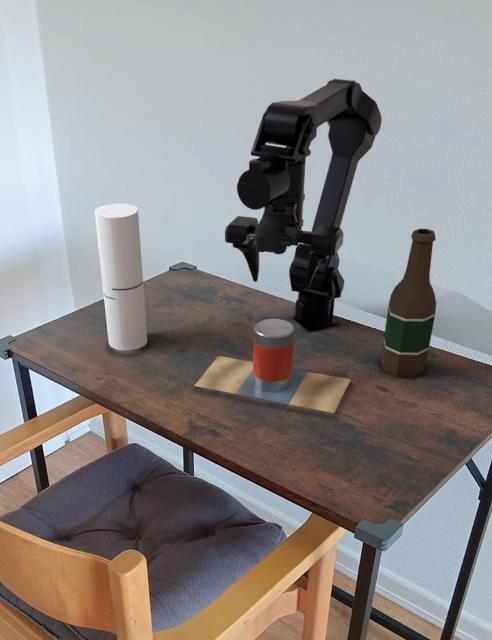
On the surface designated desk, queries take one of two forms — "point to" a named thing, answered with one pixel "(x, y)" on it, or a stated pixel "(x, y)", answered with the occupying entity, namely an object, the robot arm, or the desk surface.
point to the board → (309, 393)
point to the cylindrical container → (122, 275)
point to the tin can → (273, 355)
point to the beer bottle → (411, 312)
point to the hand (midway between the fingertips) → (281, 284)
